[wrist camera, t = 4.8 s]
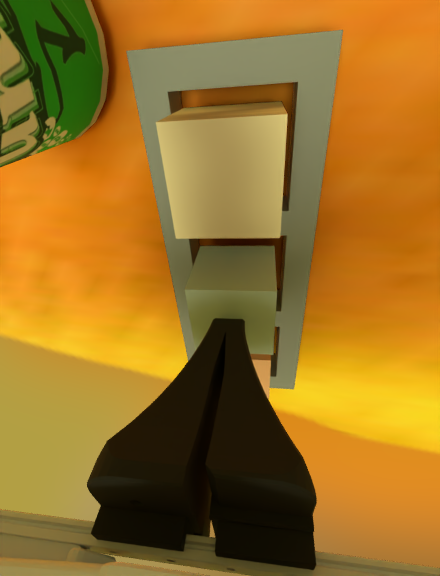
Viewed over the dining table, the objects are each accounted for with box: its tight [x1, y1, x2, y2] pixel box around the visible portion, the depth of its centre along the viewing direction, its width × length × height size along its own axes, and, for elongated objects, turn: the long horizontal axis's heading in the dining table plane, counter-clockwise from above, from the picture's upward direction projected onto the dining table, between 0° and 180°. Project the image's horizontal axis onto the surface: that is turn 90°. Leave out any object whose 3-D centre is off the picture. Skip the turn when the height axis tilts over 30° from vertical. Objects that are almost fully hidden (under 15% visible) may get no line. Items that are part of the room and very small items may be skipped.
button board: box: [126, 30, 343, 389], centre depth 18 cm, size 8×21×2 cm, turn 4°
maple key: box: [156, 101, 288, 239], centre depth 12 cm, size 4×4×4 cm
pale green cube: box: [185, 246, 277, 355], centre depth 15 cm, size 4×4×4 cm
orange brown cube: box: [250, 354, 271, 399], centre depth 21 cm, size 4×4×4 cm
